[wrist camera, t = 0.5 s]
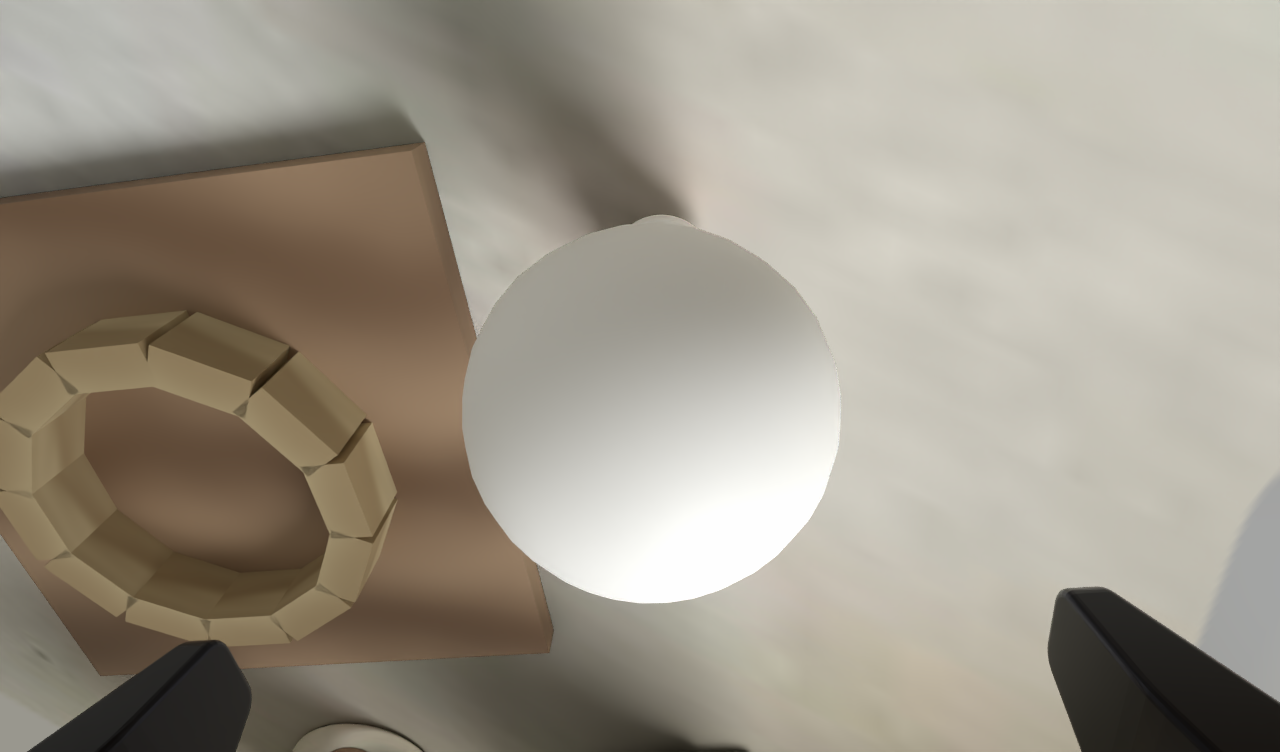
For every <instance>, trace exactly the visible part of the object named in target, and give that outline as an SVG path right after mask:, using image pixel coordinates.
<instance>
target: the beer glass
mask: <svg viewBox="0 0 1280 752" xmlns="http://www.w3.org/2000/svg"><path fill="white" fill-rule="evenodd" d="M292 752H422V751H421V750H420V749H419V748H418V747H417V746H415V745H414V744H413V743H411V742H410V741H408V740H406V739H405V738H403V737H401V736H399V735H397V734H395V733H392V732H390V731H387V730H384V729H381V728H377V727H373V726H368V725H362V724H334V725H328V726H324V727H321V728H318V729H315V730H313V731H311V732H309V733H308V734H306V735H305V736H303V737H302V738H301V739H300V740H299V741H298V743H297V744H296V745H295V747H294V749H293V751H292Z"/></svg>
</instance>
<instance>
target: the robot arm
mask: <svg viewBox="0 0 1280 752" xmlns="http://www.w3.org/2000/svg"><path fill="white" fill-rule="evenodd" d="M1048 659H1049V664H1050V668H1051V671H1052V674H1053V676H1054V679H1055V682H1056V684H1057V687H1058V690H1059V692H1060V695H1061V698H1062V701H1063V703H1064V706H1065V709H1066V711H1067V714H1068V717H1069V719H1070V722H1071V725H1072V727H1073V730H1074V733H1075V735H1076V738H1077V741H1078V743H1079V746H1080V749H1081V752H1280V702H1278V701H1277V700H1276V699H1274V698H1272V697H1271V696H1269V695H1268V694H1266V693H1265V692H1263V691H1262V690H1260V689H1259V688H1257V687H1256V686H1254V685H1253V684H1251V683H1250V682H1248V681H1247V680H1245V679H1244V678H1242V677H1241V676H1239V675H1238V674H1236V673H1235V672H1233V671H1232V670H1230V669H1229V668H1227V667H1226V666H1224V665H1223V664H1221V663H1220V662H1218V661H1217V660H1215V659H1214V658H1212V657H1211V656H1209V655H1208V654H1206V653H1205V652H1203V651H1202V650H1200V649H1199V648H1197V647H1196V646H1194V645H1193V644H1191V643H1190V642H1188V641H1187V640H1185V639H1184V638H1182V637H1181V636H1179V635H1178V634H1176V633H1175V632H1173V631H1172V630H1170V629H1169V628H1167V627H1166V626H1164V625H1163V624H1161V623H1160V622H1158V621H1157V620H1155V619H1154V618H1152V617H1151V616H1149V615H1148V614H1146V613H1145V612H1143V611H1142V610H1140V609H1139V608H1137V607H1136V606H1134V605H1133V604H1131V603H1130V602H1128V601H1126V600H1125V599H1123V598H1122V597H1120V596H1119V595H1117V594H1116V593H1114V592H1113V591H1111V590H1109V589H1106V588H1104V587H1082V588H1066V589H1063V590H1061V591H1060V592H1059V593H1058V595H1057V597H1056V600H1055V606H1054V612H1053V618H1052V623H1051V629H1050V635H1049V641H1048ZM251 701H252V694H251V689H250V686H249V684H248V682H247V680H246V678H245V676H244V675H243V673H242V671H241V669H240V667H239V666H238V664H237V662H236V660H235V659H234V657H233V655H232V653H231V651H230V650H229V648H228V647H227V645H226V644H225V643H223V642H222V641H220V640H200V641H188V642H184V643H182V644H179V645H178V646H176V647H175V648H173V649H172V650H170V651H169V652H168V653H166V654H165V655H163V656H162V657H160V658H159V659H158V660H156V661H155V662H153V663H152V664H151V665H149V666H148V667H146V668H145V669H144V670H142V671H141V672H139V673H138V674H136V675H135V676H134V677H132V678H131V679H129V680H128V681H127V682H125V683H124V684H122V685H121V686H119V687H118V688H117V689H115V690H114V691H112V692H111V693H110V694H108V695H107V696H105V697H104V698H102V699H101V700H100V701H98V702H97V703H95V704H94V705H93V706H91V707H90V708H88V709H87V710H85V711H84V712H83V713H81V714H80V715H78V716H77V717H76V718H74V719H73V720H71V721H70V722H68V723H67V724H66V725H64V726H63V727H61V728H60V729H59V730H57V731H56V732H55V733H53V734H51V735H50V736H49V737H47V738H46V739H44V740H43V741H42V742H40V743H39V744H37V745H36V746H34V747H33V748H32V749H30V750H29V751H27V752H236V749H237V746H238V743H239V741H240V738H241V735H242V732H243V729H244V726H245V723H246V720H247V717H248V715H249V711H250V708H251Z"/></svg>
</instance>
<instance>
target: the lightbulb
mask: <svg viewBox="0 0 1280 752" xmlns="http://www.w3.org/2000/svg"><path fill="white" fill-rule="evenodd" d="M840 420H841V392H840V387H839V381H838V375H837V369H836V363H835V361H834V358H833V356H832V353H831V351H830V348H829V346H828V343H827V341H826V339H825V336H824V334H823V332H822V329H821V327H820V325H819V322H818V320H817V318H816V316H815V314H814V313H813V312H812V310H811V309H810V308H809V306H808V305H807V303H806V302H805V301H804V299H803V298H802V296H801V295H800V294H799V292H798V291H797V290H796V288H795V287H794V286H792V285H791V284H790V283H789V282H788V281H787V280H786V279H785V278H784V277H782V276H781V275H780V274H779V273H778V272H777V271H776V270H775V269H774V268H772V267H771V266H770V265H769V264H768V263H767V262H765V261H764V260H762V259H761V258H760V257H758V256H756V255H755V254H753V253H751V252H750V251H748V250H746V249H744V248H743V247H741V246H739V245H738V244H736V243H734V242H732V241H731V240H729V239H727V238H724V237H721V236H718V235H715V234H712V233H709V232H706V231H703V230H700V229H697V228H696V227H694V226H693V225H692V224H691V223H689V222H687V221H686V220H684V219H682V218H679V217H676V216H671V215H664V214H663V215H652V216H648V217H644V218H642V219H640V220H638V221H636V222H634V223H633V224H627V225H620V226H616V227H612V228H609V229H605V230H601V231H597V232H593V233H589V234H587V235H585V236H583V237H581V238H579V239H577V240H575V241H573V242H570V243H568V244H566V245H564V246H562V247H560V248H558V249H556V250H554V251H552V252H550V253H549V254H547V255H545V256H544V257H543V258H541V259H540V260H539V261H538V262H536V263H535V264H534V265H532V266H531V267H530V268H528V269H527V270H526V271H525V272H523V273H522V274H521V275H519V276H518V277H517V278H516V279H515V281H514V282H513V283H512V284H511V285H510V287H509V288H508V289H507V290H506V291H505V293H504V294H503V295H502V296H501V297H500V299H499V300H498V301H497V302H496V304H495V305H494V307H493V309H492V310H491V312H490V314H489V316H488V317H487V319H486V321H485V323H484V325H483V327H482V329H481V331H480V333H479V335H478V337H477V339H476V341H475V343H474V345H473V347H472V351H471V355H470V359H469V363H468V367H467V372H466V376H465V381H464V388H463V396H462V430H463V436H464V442H465V448H466V452H467V457H468V461H469V466H470V470H471V475H472V478H473V480H474V482H475V484H476V486H477V489H478V491H479V493H480V495H481V497H482V499H483V501H484V503H485V505H486V506H487V508H488V509H489V511H490V512H491V514H492V515H493V517H494V518H495V520H496V521H497V522H498V524H499V525H500V526H501V528H502V529H503V530H504V532H505V533H506V535H507V536H508V537H509V539H510V540H511V541H512V542H513V543H514V544H515V545H516V546H517V547H518V548H519V549H520V550H522V551H523V552H524V553H525V554H526V555H527V556H528V557H529V558H530V559H531V560H532V561H534V562H535V563H537V564H538V565H540V566H541V567H543V568H544V569H546V570H547V571H549V572H550V573H552V574H553V575H555V576H556V577H558V578H559V579H561V580H563V581H564V582H566V583H568V584H570V585H573V586H575V587H577V588H579V589H582V590H584V591H586V592H588V593H592V594H595V595H599V596H602V597H606V598H610V599H613V600H619V601H627V602H635V603H670V602H676V601H682V600H688V599H694V598H697V597H700V596H703V595H706V594H710V593H713V592H716V591H719V590H721V589H723V588H725V587H727V586H729V585H731V584H733V583H735V582H737V581H739V580H741V579H743V578H745V577H747V576H749V575H751V574H753V573H755V572H756V571H757V570H759V569H760V568H761V567H763V566H764V565H765V564H766V563H768V562H769V561H770V560H772V559H773V558H774V557H776V556H777V555H778V554H779V553H780V552H781V551H782V550H783V549H784V547H785V546H786V545H787V544H788V543H789V542H790V541H791V540H792V539H793V538H794V536H795V535H796V534H797V533H798V532H799V531H800V530H801V529H802V528H803V526H804V525H805V524H806V523H807V522H808V521H809V519H810V517H811V516H812V514H813V512H814V510H815V509H816V507H817V505H818V504H819V502H820V500H821V498H822V497H823V495H824V492H825V489H826V486H827V483H828V480H829V477H830V473H831V470H832V467H833V464H834V460H835V457H836V454H837V451H838V447H839V434H840Z"/></svg>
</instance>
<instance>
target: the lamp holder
mask: <svg viewBox="0 0 1280 752" xmlns="http://www.w3.org/2000/svg"><path fill="white" fill-rule="evenodd" d="M476 339H477V338H476V334H475V330H474V326H473V323H472V319H471V315H470V311H469V307H468V304H467V300H466V296H465V292H464V289H463V285H462V281H461V277H460V273H459V270H458V266H457V262H456V258H455V254H454V251H453V247H452V243H451V239H450V236H449V232H448V228H447V224H446V220H445V217H444V213H443V209H442V205H441V201H440V198H439V194H438V190H437V186H436V183H435V179H434V175H433V171H432V167H431V164H430V160H429V156H428V152H427V148H426V145H425V142H423V143H415V144H407V145H400V146H392V147H385V148H377V149H369V150H362V151H354V152H346V153H339V154H331V155H324V156H316V157H308V158H301V159H293V160H286V161H278V162H270V163H263V164H255V165H248V166H240V167H232V168H225V169H217V170H210V171H202V172H194V173H187V174H179V175H172V176H164V177H156V178H149V179H141V180H134V181H126V182H118V183H111V184H103V185H96V186H88V187H80V188H73V189H65V190H58V191H50V192H42V193H35V194H27V195H20V196H12V197H4V198H0V534H1V536H2V537H3V539H4V540H5V541H6V543H7V544H8V546H9V547H10V549H11V550H12V551H13V553H14V554H15V556H16V557H17V558H18V560H19V561H20V563H21V564H22V566H23V567H24V568H25V570H26V571H27V573H28V574H29V575H30V577H31V578H32V580H33V581H34V583H35V584H36V585H37V587H38V588H39V590H40V591H41V592H42V594H43V595H44V597H45V598H46V600H47V601H48V602H49V604H50V605H51V607H52V608H53V609H54V611H55V612H56V614H57V615H58V617H59V618H60V619H61V621H62V622H63V624H64V625H65V627H66V628H67V629H68V631H69V632H70V634H71V635H72V636H73V638H74V639H75V641H76V642H77V644H78V645H79V646H80V648H81V649H82V651H83V652H84V653H85V655H86V656H87V658H88V659H89V661H90V662H91V663H92V665H93V666H94V668H95V669H96V670H97V672H98V673H99V675H100V676H110V675H130V674H138V673H139V672H141V671H142V670H144V669H145V668H146V667H148V666H149V665H151V664H152V663H153V662H155V661H156V660H158V659H159V658H160V657H162V656H163V655H165V654H166V653H168V652H169V651H170V650H172V649H173V648H175V647H176V646H178V645H179V644H182V643H184V642H188V641H200V640H220V641H222V642H223V643H225V644H226V645H227V647H228V648H229V650H230V651H231V653H232V655H233V657H234V659H235V660H236V662H237V664H238V666H239V667H240V669H247V668H266V667H285V666H305V665H324V664H344V663H363V662H383V661H402V660H422V659H441V658H461V657H480V656H500V655H519V654H538V653H549V652H550V647H551V642H552V636H553V631H554V629H553V625H552V622H551V618H550V614H549V610H548V607H547V603H546V599H545V595H544V591H543V588H542V584H541V580H540V576H539V572H538V569H537V565H536V563H535V562H534V561H532V560H531V559H530V558H529V557H528V556H527V555H526V554H525V553H524V552H523V551H522V550H520V549H519V548H518V547H517V546H516V545H515V544H514V543H513V542H512V541H511V540H510V539H509V537H508V536H507V535H506V533H505V532H504V530H503V529H502V528H501V526H500V525H499V524H498V522H497V521H496V520H495V518H494V517H493V515H492V514H491V512H490V511H489V509H488V508H487V506H486V505H485V503H484V501H483V499H482V497H481V495H480V493H479V491H478V489H477V486H476V484H475V482H474V480H473V478H472V475H471V470H470V466H469V461H468V457H467V452H466V448H465V442H464V436H463V430H462V396H463V388H464V381H465V376H466V372H467V367H468V363H469V359H470V355H471V351H472V347H473V345H474V343H475V341H476Z"/></svg>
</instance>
